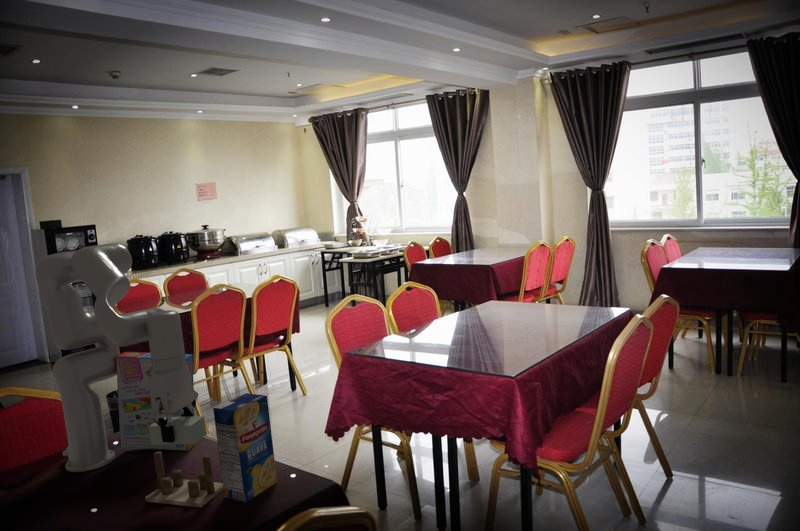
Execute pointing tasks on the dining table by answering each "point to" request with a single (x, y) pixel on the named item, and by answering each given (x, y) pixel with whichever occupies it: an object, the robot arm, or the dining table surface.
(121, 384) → the game box
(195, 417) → the pale green rectangular block
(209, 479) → the rack
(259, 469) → the beverage box
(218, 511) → the dining table surface
